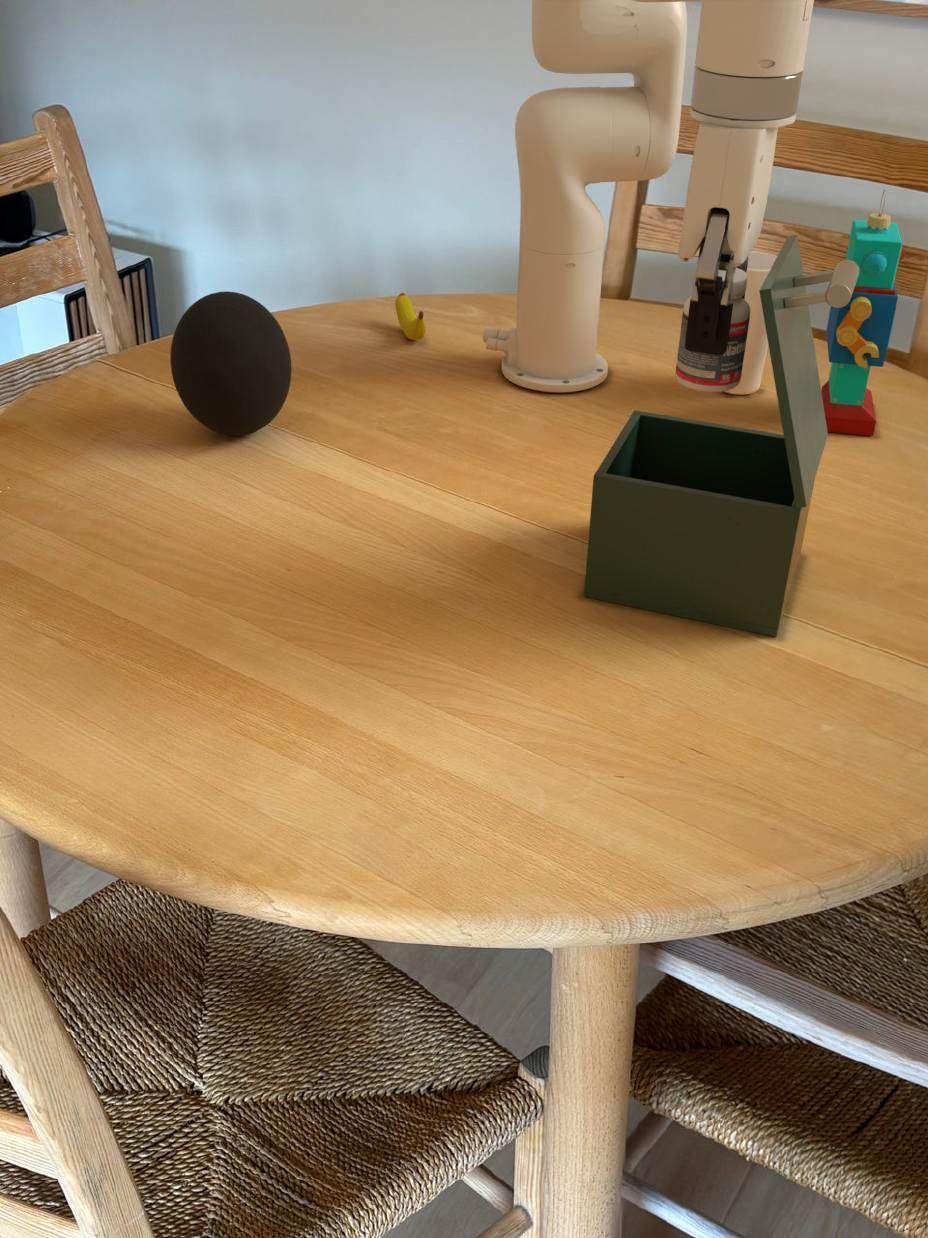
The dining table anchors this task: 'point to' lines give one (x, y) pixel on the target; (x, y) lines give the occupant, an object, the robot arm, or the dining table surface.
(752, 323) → the drinking glass
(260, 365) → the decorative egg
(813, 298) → the lid
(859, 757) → the dining table surface
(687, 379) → the pill bottle
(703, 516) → the box
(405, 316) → the fruit
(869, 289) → the toy robot
